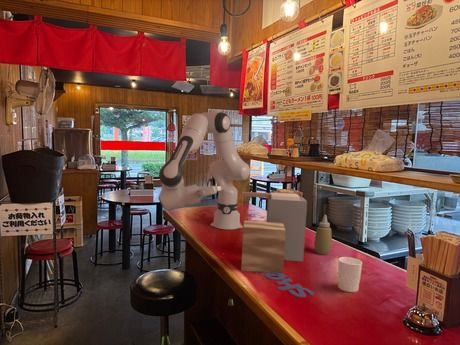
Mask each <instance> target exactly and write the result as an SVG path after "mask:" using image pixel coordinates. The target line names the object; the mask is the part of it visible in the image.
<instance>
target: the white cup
mask: <svg viewBox="0 0 460 345" xmlns="http://www.w3.org/2000/svg"><path fill="white" fill-rule="evenodd" d="M337 264H338V265H337V266H338V267H337V287H338V289H339V290H341V291H344V292H348V293H356V292H358V291H359V286H360V281H361V276H362V275H361V274H362V267H363V261H362V260H360V259H358V258H354V257H351V256H350V257H348V256H342V257H339V258H338V262H337Z"/></svg>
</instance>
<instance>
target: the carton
mask: <svg viewBox="0 0 460 345" xmlns="http://www.w3.org/2000/svg"><path fill="white" fill-rule="evenodd" d="M299 197H300V201H295V200H279V199H271V198H267V204H266V221H265V222H273V223H283V225H284V227H285V230H286V234H285V250H284V261H289V262H290V261H291V262H304V256H305V254H304V251H305V238H306V223H307V222H306V221H307V214H308V213H307V210H308V201H307V199H305V198H304V197H302V196H299Z"/></svg>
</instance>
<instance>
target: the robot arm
mask: <svg viewBox="0 0 460 345" xmlns="http://www.w3.org/2000/svg"><path fill="white" fill-rule="evenodd" d="M230 118H231V117H230V116H229V115H228V114H227V113H226V112H221V111H220V112H217V111H208V112H198V113H194V114H192V115H191V116H190V118H189V119H188V120H187V121H186V123H185V126H184V128H182V131H181V134H180V136H179V140H178V142H177V144H176V146H175V149H174V150H173V152H172V153H171V156H170V158H169V159H168V161H167V162H165V163H164V164H163V166H161V168H160V169H159V172H158V177H159V180H160V182H161V183H162V184H161V189H160V193H159V194H158V200H159V202H160V205H161V207H162V208H163V209H164V210H165V211H172V210H177V209H182V208H184V207H186V206H194V205H196V204H197V205H198V204H200V203H201V200H204V197H207V196H212V195H215V194H217V192H218V199H217V200H218V202H217V205H216V206H217V207H216V208H217V209H216V211H214V215H213V216H214V217H213V222H211V223H210V226H211V227H213V228H217V229H221V230H237V229H244V226H243V225H242V223H241V222H240V220H241V219H240V212H239V211H238V208H239V205H238V189H237V188H236V187H235V186H234V185H233V184H232V182H231V181H245V180H247V179H248V178H249V176H250V174H251V168H250V165H249V164H248V163H246V162H245V161H244V160H243V159H242V157H241V156H240V155H239V153H238V152H237V149H236V145H235V140H234V136H233V130H232V127H231V119H230ZM206 134H212V140H213V143H214V150H215V154H216V155H217V156H218V157H219V158H221V159H219V160H213V161H212V162H211V163H210V165H209V168H208V170H209V174H210V175H211V177H212V178H213V179H214V180H215V182H216V185H217V186H215V185H210V186H200V185H199V186H198V185H197V184H196V183H195V184H192V185H188V186H185V185H184V183H185V180H184V176H183V166H184V163H185V161H186V160H187V157H188V156H189V153H190V152H196V151H198V150H199V148H201V145H203V141H204V139H205V137H206Z"/></svg>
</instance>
